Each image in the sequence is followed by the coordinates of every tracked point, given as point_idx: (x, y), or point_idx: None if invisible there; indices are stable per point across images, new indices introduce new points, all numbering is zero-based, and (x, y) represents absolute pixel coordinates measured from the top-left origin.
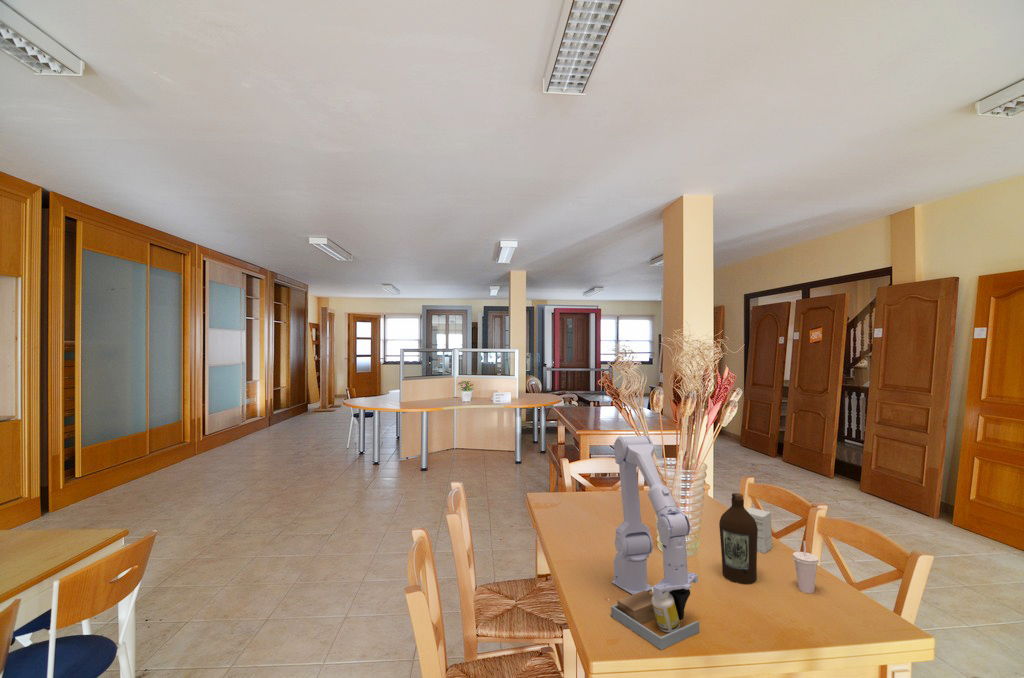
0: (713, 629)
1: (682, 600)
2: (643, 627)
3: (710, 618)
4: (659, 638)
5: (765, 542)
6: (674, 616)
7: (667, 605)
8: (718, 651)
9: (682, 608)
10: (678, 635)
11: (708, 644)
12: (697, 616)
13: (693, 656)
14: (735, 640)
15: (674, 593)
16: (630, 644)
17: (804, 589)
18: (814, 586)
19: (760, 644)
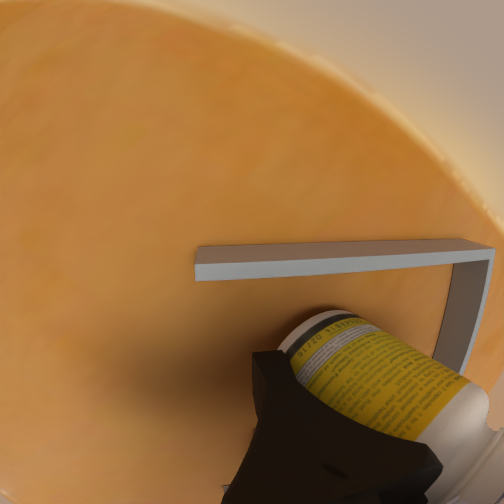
0: (95, 224)
1: (351, 441)
2: (472, 346)
3: (39, 308)
4: (492, 256)
5: None
6: (387, 350)
7: (482, 391)
8: (267, 64)
9: (298, 395)
10: (399, 247)
11: (260, 130)
12: (87, 356)
13: (405, 124)
14: (87, 88)
15: (424, 494)
16: (484, 313)
17: None
18: None
19: (37, 33)
